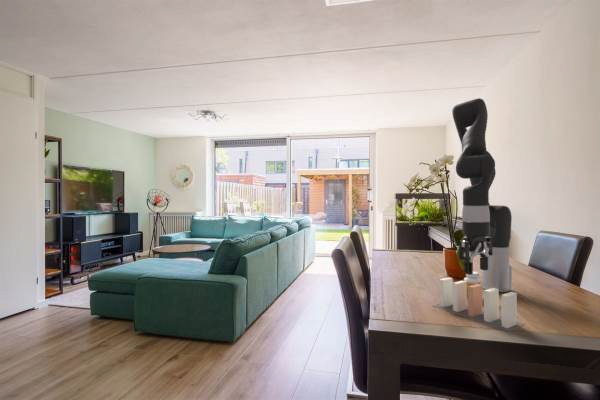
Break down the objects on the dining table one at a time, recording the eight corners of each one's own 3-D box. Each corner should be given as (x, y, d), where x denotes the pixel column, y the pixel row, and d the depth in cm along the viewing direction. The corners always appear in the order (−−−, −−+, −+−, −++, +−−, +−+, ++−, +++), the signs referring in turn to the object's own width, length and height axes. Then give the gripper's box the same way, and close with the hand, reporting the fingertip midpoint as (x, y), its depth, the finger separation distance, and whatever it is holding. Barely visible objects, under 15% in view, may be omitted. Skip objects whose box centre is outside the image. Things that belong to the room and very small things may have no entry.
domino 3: (468, 315, 100) (467, 286, 100) (477, 312, 103) (477, 283, 103) (473, 316, 99) (473, 287, 99) (482, 313, 101) (482, 285, 101)
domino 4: (483, 320, 96) (483, 290, 96) (493, 317, 98) (493, 287, 98) (489, 322, 94) (489, 291, 94) (498, 318, 97) (498, 289, 97)
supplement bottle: (460, 297, 119) (460, 270, 119) (474, 296, 119) (474, 270, 119) (469, 301, 114) (469, 274, 113) (484, 301, 114) (484, 273, 114)
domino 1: (439, 305, 109) (439, 279, 109) (448, 303, 111) (448, 277, 111) (443, 307, 107) (443, 280, 107) (452, 304, 110) (452, 278, 110)
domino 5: (501, 326, 92) (501, 294, 91) (510, 322, 94) (510, 291, 94) (507, 328, 90) (507, 296, 90) (516, 324, 93) (516, 293, 93)
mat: (432, 307, 109) (432, 306, 109) (448, 302, 113) (448, 301, 113) (508, 333, 88) (508, 331, 88) (524, 325, 93) (524, 324, 93)
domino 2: (452, 310, 104) (452, 282, 104) (462, 307, 107) (462, 280, 107) (457, 311, 103) (457, 283, 103) (466, 308, 106) (466, 281, 105)
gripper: (476, 217, 107) (477, 266, 107) (450, 220, 99) (451, 273, 100) (500, 219, 100) (501, 270, 101) (474, 222, 93) (475, 278, 93)
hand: (476, 271), depth 100 cm, fingers open, 8 cm apart
